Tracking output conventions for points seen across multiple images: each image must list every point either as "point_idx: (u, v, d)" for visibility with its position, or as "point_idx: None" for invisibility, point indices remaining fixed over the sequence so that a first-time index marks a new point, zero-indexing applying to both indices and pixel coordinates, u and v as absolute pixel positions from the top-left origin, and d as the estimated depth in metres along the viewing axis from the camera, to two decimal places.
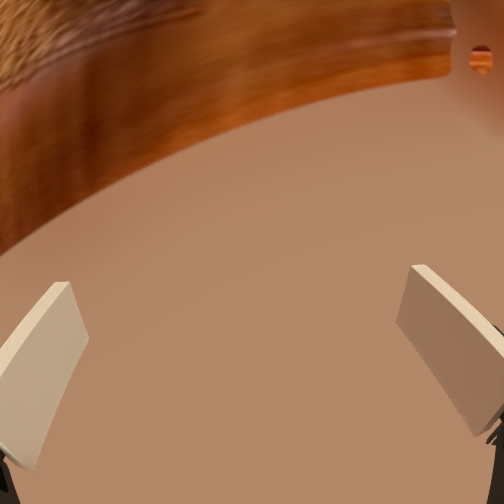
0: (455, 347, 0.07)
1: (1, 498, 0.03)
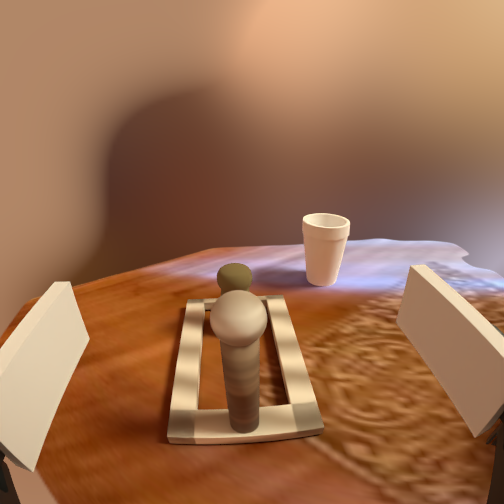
0: (455, 347, 0.07)
1: (1, 498, 0.03)
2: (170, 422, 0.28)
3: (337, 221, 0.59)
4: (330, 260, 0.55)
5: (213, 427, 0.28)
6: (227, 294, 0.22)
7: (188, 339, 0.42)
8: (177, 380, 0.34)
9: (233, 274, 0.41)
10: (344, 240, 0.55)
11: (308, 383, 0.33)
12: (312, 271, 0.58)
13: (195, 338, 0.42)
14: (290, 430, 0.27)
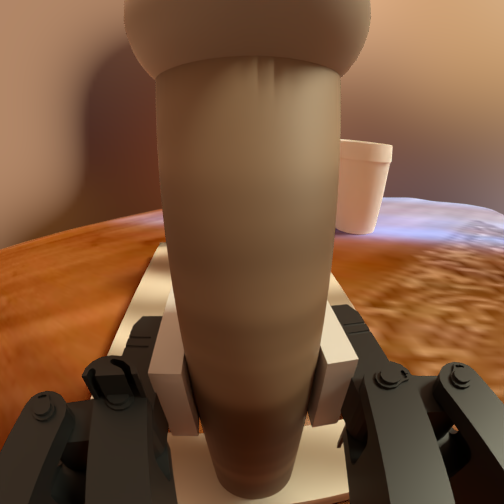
0: None
1: (167, 489, 0.04)
2: None
3: None
4: (370, 193, 0.37)
5: None
6: None
7: (148, 292, 0.23)
8: None
9: None
10: (387, 166, 0.36)
11: None
12: (344, 212, 0.40)
13: (160, 290, 0.23)
14: None
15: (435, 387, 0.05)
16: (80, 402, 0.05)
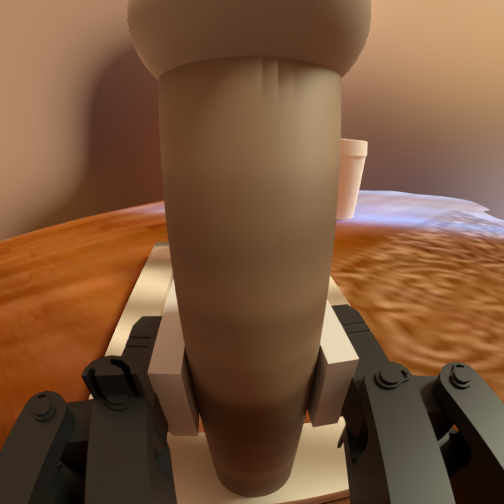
0: None
1: (166, 489, 0.04)
2: None
3: None
4: (347, 183, 0.43)
5: None
6: None
7: (144, 291, 0.23)
8: None
9: None
10: (362, 160, 0.42)
11: None
12: None
13: (157, 290, 0.23)
14: None
15: (435, 387, 0.05)
16: (80, 402, 0.05)
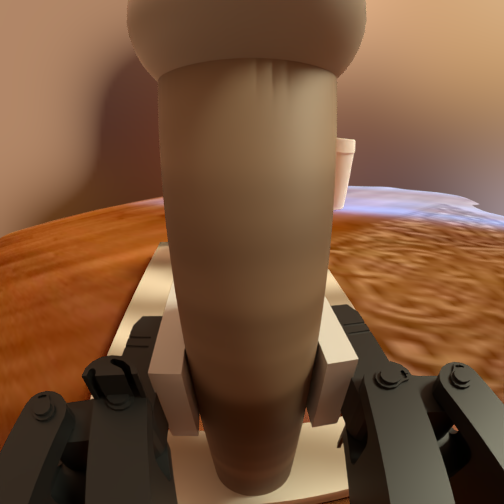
0: None
1: (167, 489, 0.04)
2: None
3: None
4: (336, 177, 0.49)
5: None
6: None
7: (147, 291, 0.23)
8: None
9: None
10: (350, 156, 0.48)
11: None
12: None
13: (160, 290, 0.23)
14: None
15: (435, 388, 0.05)
16: (80, 402, 0.05)
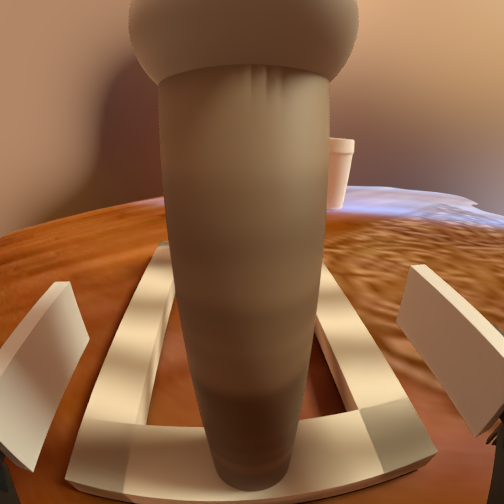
0: (455, 347, 0.07)
1: (1, 498, 0.03)
2: (77, 446, 0.10)
3: None
4: (335, 177, 0.49)
5: (172, 472, 0.09)
6: None
7: (148, 290, 0.23)
8: (111, 358, 0.16)
9: None
10: (349, 156, 0.48)
11: (383, 363, 0.15)
12: None
13: (160, 289, 0.24)
14: (368, 473, 0.09)
15: None
16: None
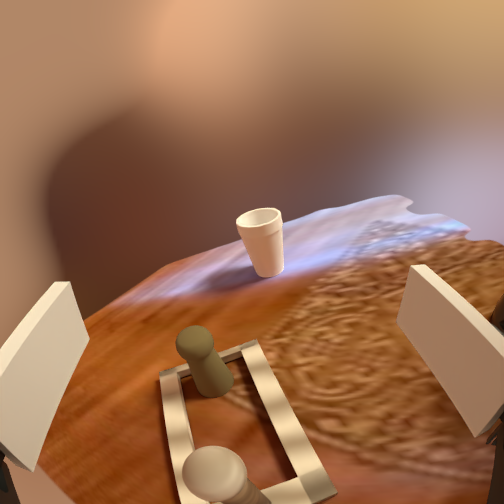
0: (455, 347, 0.07)
1: (1, 498, 0.03)
2: None
3: (270, 213, 0.64)
4: (271, 252, 0.61)
5: None
6: (192, 464, 0.15)
7: (173, 424, 0.34)
8: (178, 477, 0.27)
9: (190, 344, 0.36)
10: (279, 231, 0.60)
11: (310, 448, 0.28)
12: (258, 266, 0.63)
13: (180, 422, 0.35)
14: None
15: None
16: None
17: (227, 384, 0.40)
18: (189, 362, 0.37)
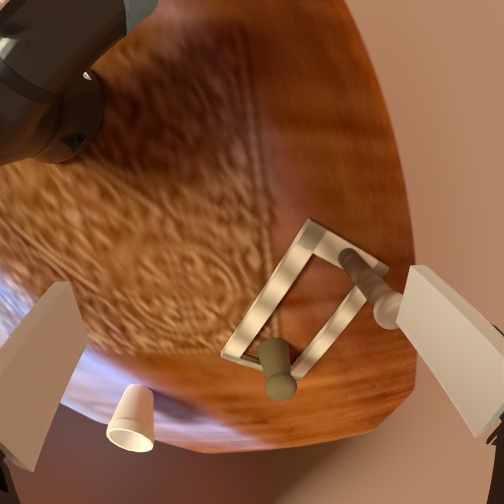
0: (455, 347, 0.07)
1: (1, 498, 0.03)
2: (382, 277, 0.46)
3: (112, 435, 0.44)
4: (138, 405, 0.48)
5: None
6: None
7: (327, 341, 0.51)
8: (358, 308, 0.48)
9: (289, 387, 0.42)
10: (121, 416, 0.44)
11: (287, 261, 0.43)
12: (152, 403, 0.53)
13: (322, 340, 0.50)
14: (330, 233, 0.42)
15: None
16: None
17: (271, 343, 0.50)
18: None
